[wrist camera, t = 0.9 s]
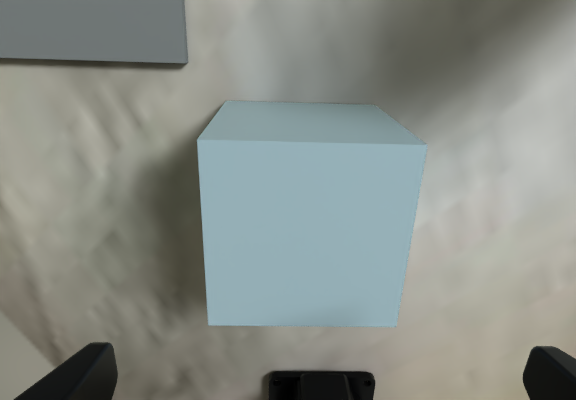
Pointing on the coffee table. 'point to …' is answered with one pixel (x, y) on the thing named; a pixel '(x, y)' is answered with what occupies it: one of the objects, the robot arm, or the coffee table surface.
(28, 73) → the coffee table surface
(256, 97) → the coffee table surface
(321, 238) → the pale blue cube
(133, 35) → the gray square plate
